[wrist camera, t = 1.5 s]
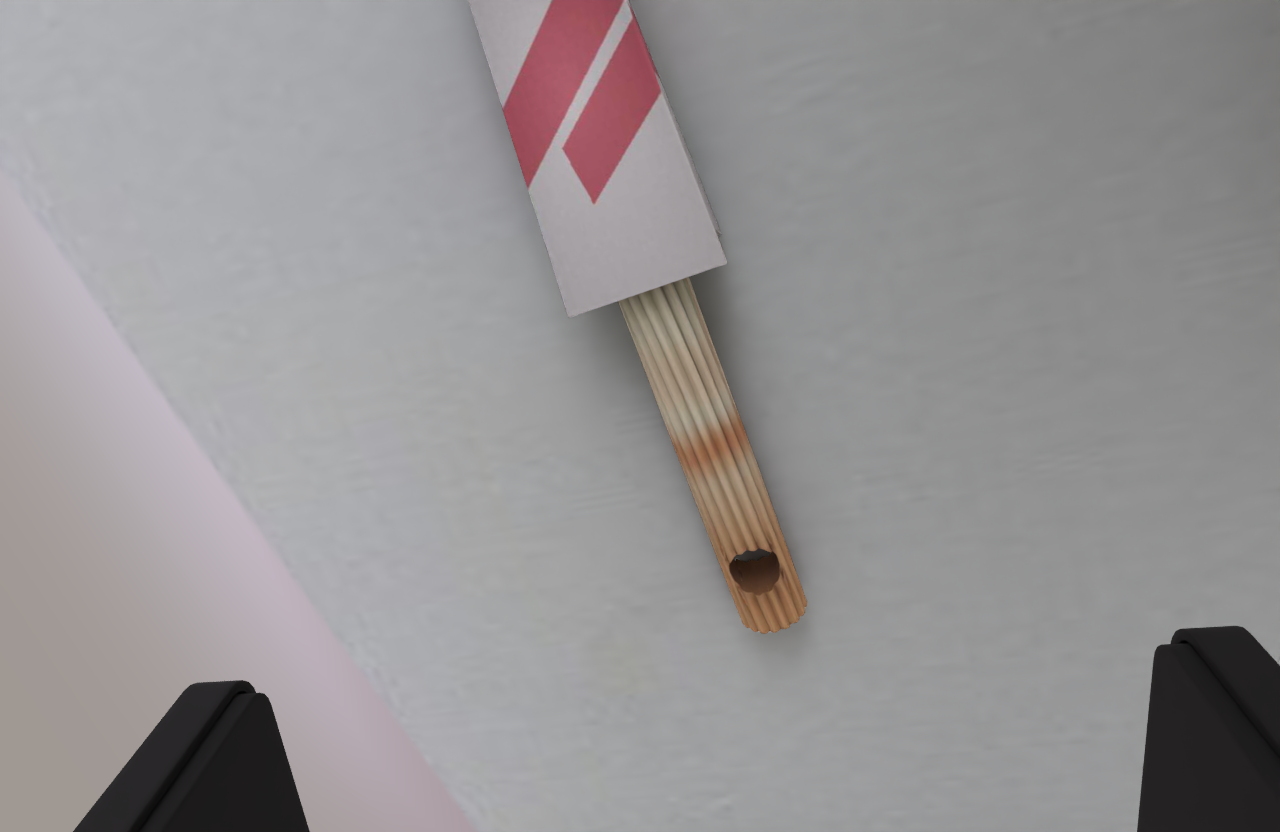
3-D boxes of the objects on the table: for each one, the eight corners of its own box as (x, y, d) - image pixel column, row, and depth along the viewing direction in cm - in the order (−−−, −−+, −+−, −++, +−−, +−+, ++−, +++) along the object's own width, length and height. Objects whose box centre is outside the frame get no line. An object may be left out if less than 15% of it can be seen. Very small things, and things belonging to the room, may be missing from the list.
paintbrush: (567, -229, 18) (846, 626, 25) (581, -205, 20) (832, 568, 28) (377, -146, 18) (705, 663, 26) (414, -133, 21) (703, 602, 29)
